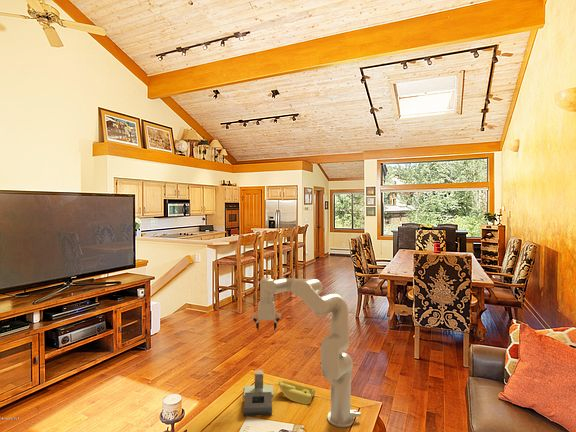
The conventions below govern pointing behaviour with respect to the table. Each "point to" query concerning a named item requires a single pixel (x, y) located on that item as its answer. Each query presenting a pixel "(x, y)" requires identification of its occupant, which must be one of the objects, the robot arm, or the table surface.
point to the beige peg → (258, 380)
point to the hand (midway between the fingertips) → (266, 329)
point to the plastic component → (297, 392)
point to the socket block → (257, 404)
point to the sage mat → (252, 389)
